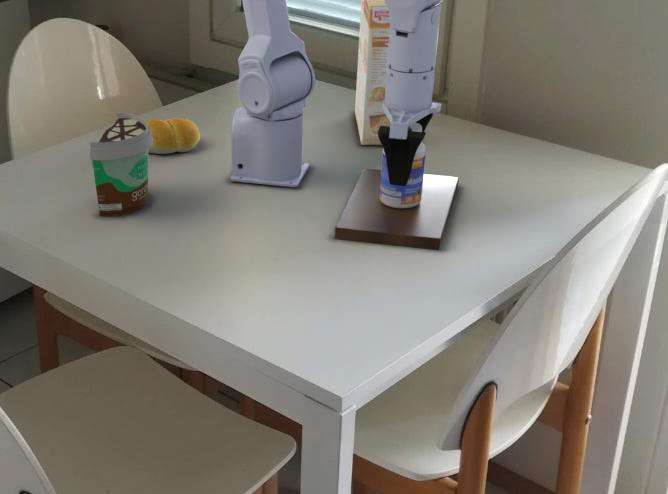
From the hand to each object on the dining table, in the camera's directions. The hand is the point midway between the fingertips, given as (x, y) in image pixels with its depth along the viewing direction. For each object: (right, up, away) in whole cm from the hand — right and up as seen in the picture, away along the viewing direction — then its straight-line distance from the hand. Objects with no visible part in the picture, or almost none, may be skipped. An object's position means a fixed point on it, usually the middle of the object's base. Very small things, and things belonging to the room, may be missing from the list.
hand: (401, 175), depth 140 cm
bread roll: (-31, +10, +22) cm, 40 cm away
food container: (-35, -2, +6) cm, 35 cm away
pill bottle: (0, -3, +2) cm, 4 cm away
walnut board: (0, -4, +3) cm, 5 cm away
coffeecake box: (0, +15, +28) cm, 31 cm away
